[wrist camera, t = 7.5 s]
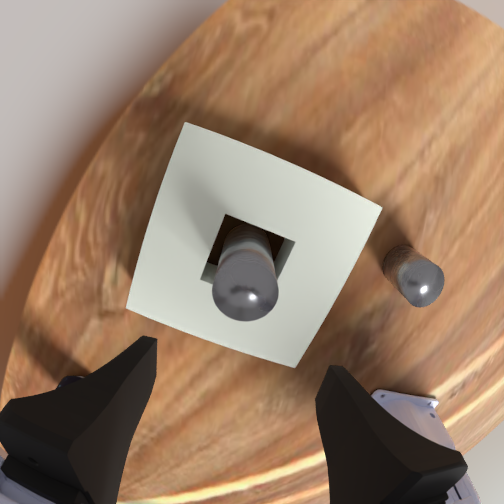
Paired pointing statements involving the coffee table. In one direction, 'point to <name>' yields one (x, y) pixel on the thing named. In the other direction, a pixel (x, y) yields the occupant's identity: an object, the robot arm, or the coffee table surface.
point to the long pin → (245, 275)
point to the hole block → (259, 214)
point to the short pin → (413, 275)
